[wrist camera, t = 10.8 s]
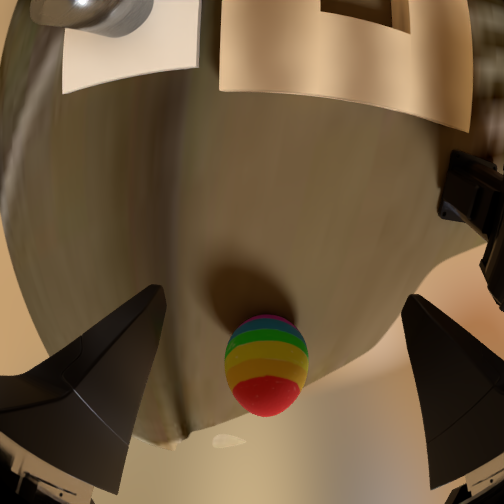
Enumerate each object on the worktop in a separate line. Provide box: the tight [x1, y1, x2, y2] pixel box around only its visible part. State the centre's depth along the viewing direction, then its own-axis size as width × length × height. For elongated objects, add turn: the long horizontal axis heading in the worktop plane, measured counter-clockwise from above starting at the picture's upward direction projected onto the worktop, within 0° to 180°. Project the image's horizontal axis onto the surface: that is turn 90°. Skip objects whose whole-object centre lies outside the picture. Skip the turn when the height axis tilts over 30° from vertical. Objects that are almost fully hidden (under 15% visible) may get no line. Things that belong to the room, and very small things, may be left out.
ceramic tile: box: [62, 0, 202, 94], centre depth 12 cm, size 12×12×1 cm
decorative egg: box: [225, 315, 309, 417], centre depth 24 cm, size 8×8×10 cm
